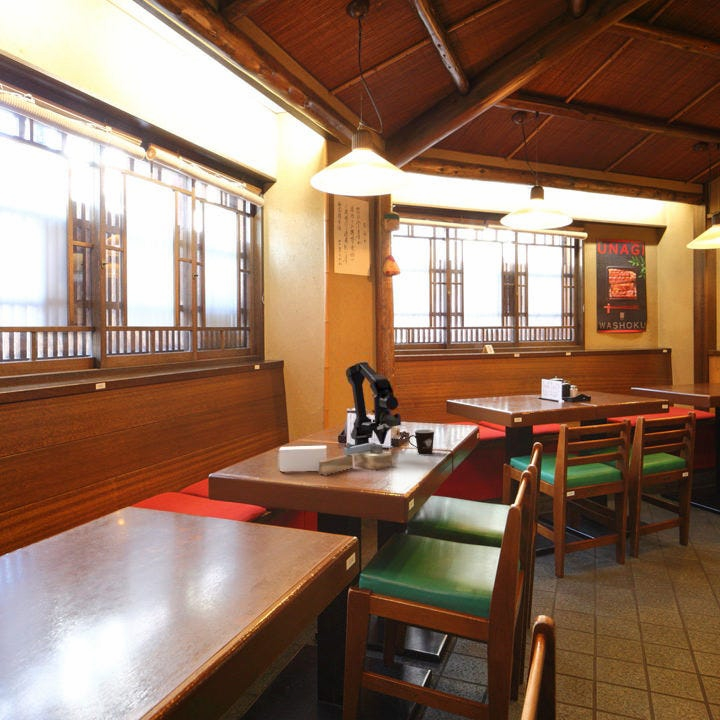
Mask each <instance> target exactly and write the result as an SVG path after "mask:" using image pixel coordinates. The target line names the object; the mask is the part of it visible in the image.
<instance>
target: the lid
mask: <svg viewBox="0 0 720 720" xmlns="http://www.w3.org/2000/svg"><path fill="white" fill-rule="evenodd" d="M354 455H357V456H362V457H367V458H372V459H376V458H380V457H385V456H389V455H392V452H391V451H386V450H383V444H374V445H370V450H368V451H363V452H359V453H354Z"/></svg>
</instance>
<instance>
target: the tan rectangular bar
mask: <svg viewBox="0 0 720 720" xmlns="http://www.w3.org/2000/svg"><path fill="white" fill-rule="evenodd" d="M353 461H354V457H353V454H350V455H344V454H343V455H339V456H336V457H331V458H327V459H326V460H321V461H319V471H318V472H319V473H318V475H319V474H323V475H325V474H329V473H333V474H335V473H334V472H337V473H339V472H338V471H341V472H343V471H342V470H345V471H347V470H346V469H349V470H351V469H350V468H354V465H353V463H354V462H353ZM323 475H322V476H323ZM329 475H330V474H329ZM325 476H326V475H325Z"/></svg>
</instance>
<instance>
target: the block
mask: <svg viewBox="0 0 720 720" xmlns="http://www.w3.org/2000/svg"><path fill="white" fill-rule="evenodd" d="M376 443H377V442H373V441H372V442H369V443H366V444H361V445H357V446H355V445H353V446H351V443H350V442H346V443H345V447H344V448H343V456H344V455H353V454H354V455H355V453H359V452H363V451H368V450H370V445H374V444H376Z"/></svg>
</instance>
